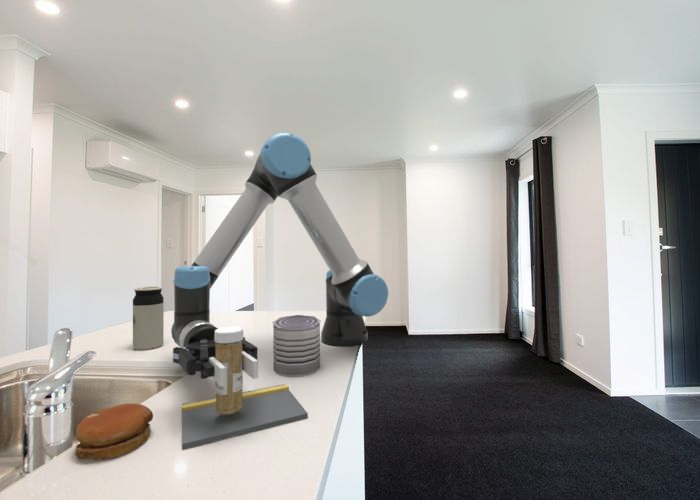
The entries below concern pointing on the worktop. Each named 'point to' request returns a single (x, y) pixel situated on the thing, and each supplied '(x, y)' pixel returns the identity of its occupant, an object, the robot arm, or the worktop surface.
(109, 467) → the worktop surface
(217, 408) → the sprinkles bottle
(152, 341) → the travel mug
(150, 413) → the burger
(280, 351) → the can
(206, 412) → the mat
